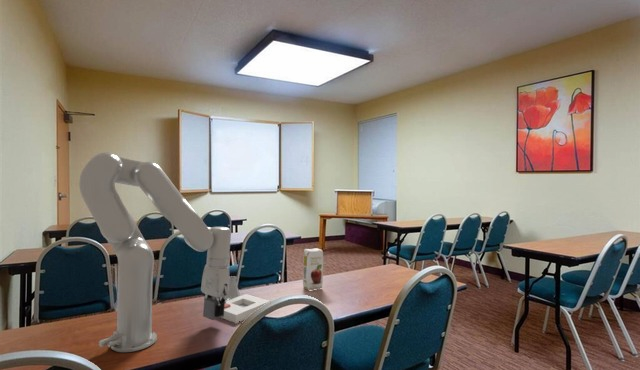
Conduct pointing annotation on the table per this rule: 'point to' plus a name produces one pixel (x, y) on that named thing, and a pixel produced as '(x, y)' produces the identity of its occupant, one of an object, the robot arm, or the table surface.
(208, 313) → the plug
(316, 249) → the juice carton
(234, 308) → the socket plate
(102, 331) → the table surface
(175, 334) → the table surface
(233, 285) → the flask
